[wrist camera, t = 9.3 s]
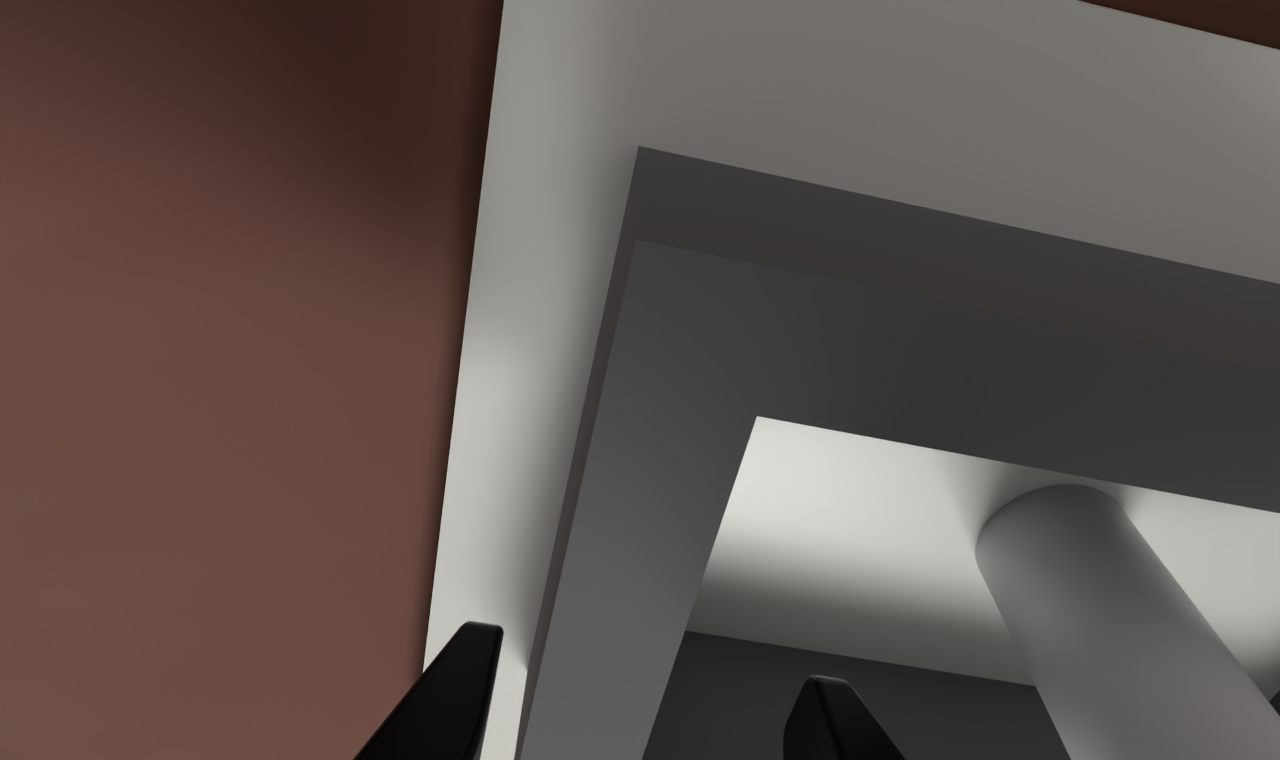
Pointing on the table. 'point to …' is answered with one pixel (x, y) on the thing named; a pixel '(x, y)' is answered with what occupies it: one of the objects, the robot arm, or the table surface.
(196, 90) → the table surface
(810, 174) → the hook board
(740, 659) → the grey rectangular frame
